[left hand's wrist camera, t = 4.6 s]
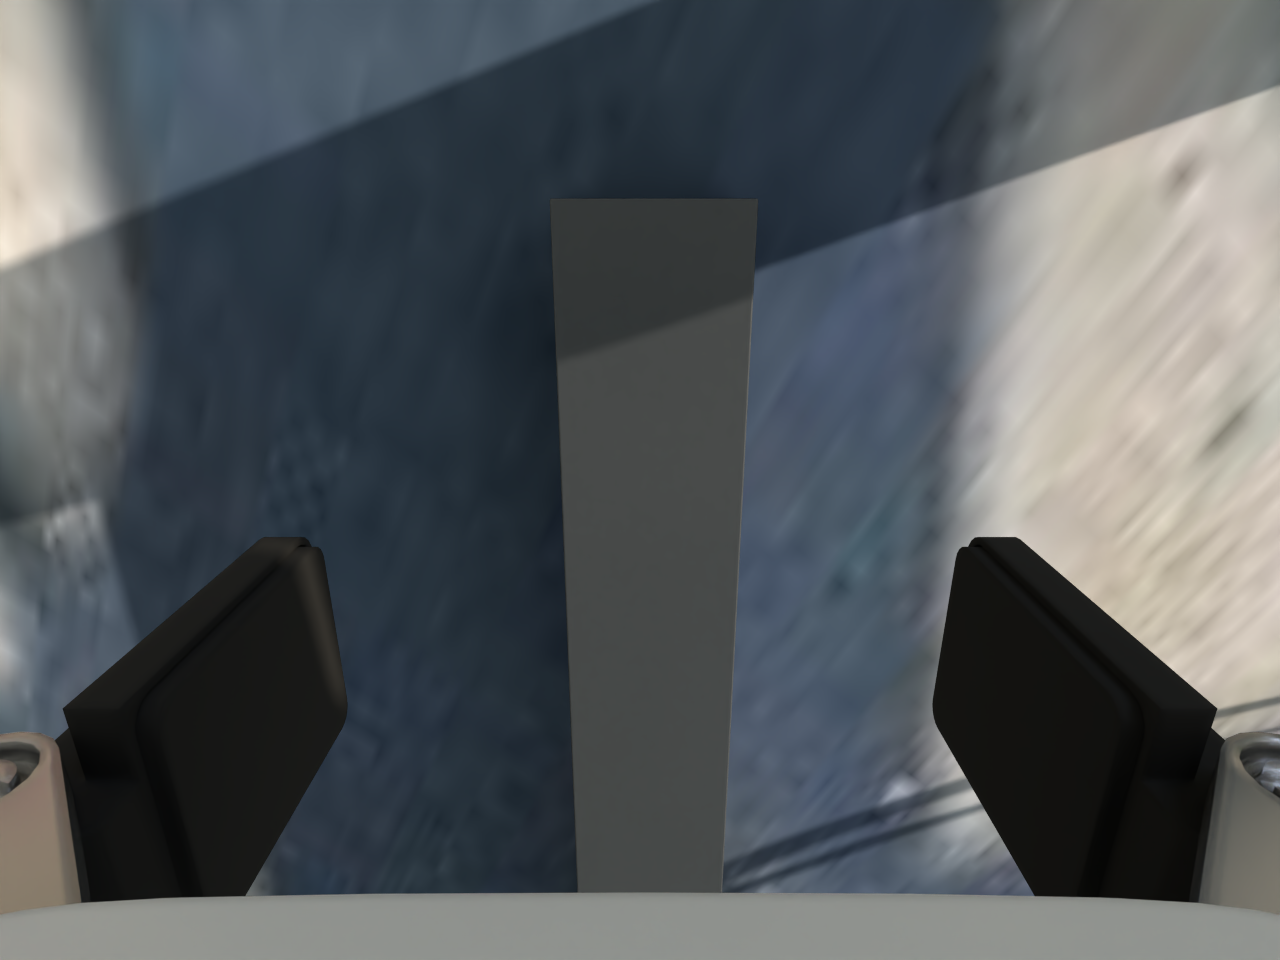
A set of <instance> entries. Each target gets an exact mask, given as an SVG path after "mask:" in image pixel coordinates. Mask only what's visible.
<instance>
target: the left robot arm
mask: <svg viewBox="0 0 1280 960" xmlns="http://www.w3.org/2000/svg"><path fill="white" fill-rule="evenodd" d="M63 711H64V714H65V717H66V720H67V724H68V727H69V728H68V729H67V730H66V731H65V732H64V733H63V734H61V735H60V736H59V737H58V738H57V739H56V740H54V739H53V738H51V737H49V736H46V735H44V734H41V733H32V732H16V733H8V734H1V735H0V960H1280V735H1279V734H1272V733H1264V732H1248V733H1239V734H1236V735H1234V736H1231V737H1229V738H1227V739H1226V740H1224V739H1223V738H1222V737H1221V736H1220V735H1219V734H1217V733H1216V732H1215V731H1214V730H1213V729H1212V728H1211V727H1212V724H1213V720H1214V717H1215V714H1216V711H1217V708H1216V707H1215V706H1214V705H1213V704H1211V703H1210V702H1209V701H1208V700H1207V699H1206V698H1204V697H1203V696H1202V695H1201V694H1200V693H1199V692H1197V691H1196V690H1195V689H1194V688H1193V687H1192V686H1190V685H1189V684H1188V683H1187V682H1186V681H1185V680H1183V679H1182V678H1181V677H1180V676H1179V675H1178V674H1176V673H1175V672H1174V671H1173V670H1172V669H1171V668H1169V667H1168V666H1167V665H1166V664H1165V663H1164V662H1162V661H1161V660H1160V659H1159V658H1158V657H1157V656H1155V655H1154V654H1153V653H1152V652H1151V651H1150V650H1148V649H1147V648H1146V647H1145V646H1144V645H1143V644H1141V643H1140V642H1139V641H1138V640H1137V639H1136V638H1134V637H1133V636H1132V635H1131V634H1130V633H1129V632H1127V631H1126V630H1125V629H1124V628H1123V627H1122V626H1120V625H1119V624H1118V623H1117V622H1116V621H1115V620H1113V619H1112V618H1111V617H1110V616H1109V615H1108V614H1106V613H1105V612H1104V611H1103V610H1102V609H1101V608H1099V607H1098V606H1097V605H1096V604H1095V603H1094V602H1092V601H1091V600H1090V599H1089V598H1088V597H1087V596H1085V595H1084V594H1083V593H1082V592H1081V591H1080V590H1078V589H1077V588H1076V587H1075V586H1074V585H1073V584H1072V583H1070V582H1069V581H1068V580H1067V579H1066V578H1065V577H1063V576H1062V575H1061V574H1060V573H1059V572H1058V571H1056V570H1055V569H1054V568H1053V567H1052V566H1051V565H1049V564H1048V563H1047V562H1046V561H1045V560H1044V559H1042V558H1041V557H1040V556H1039V555H1038V554H1037V553H1035V552H1034V551H1033V550H1032V549H1031V548H1030V547H1028V546H1027V545H1026V544H1025V543H1024V542H1023V541H1021V540H1020V539H1018V538H1016V537H976V538H974V539H973V540H972V541H971V542H970V544H969V546H968V547H962V548H960V549H959V551H958V553H957V556H956V561H955V567H954V573H953V579H952V585H951V591H950V598H949V604H948V610H947V616H946V622H945V628H944V634H943V641H942V647H941V653H940V659H939V665H938V671H937V677H936V683H935V690H934V696H933V715H934V720H935V723H936V725H937V728H938V729H939V731H940V733H941V735H942V736H943V738H944V740H945V741H946V743H947V745H948V747H949V748H950V750H951V752H952V754H953V755H954V757H955V759H956V761H957V762H958V764H959V766H960V767H961V769H962V771H963V773H964V774H965V776H966V778H967V780H968V781H969V783H970V785H971V786H972V788H973V790H974V792H975V793H976V795H977V797H978V799H979V800H980V802H981V804H982V805H983V807H984V809H985V811H986V812H987V814H988V816H989V818H990V819H991V821H992V823H993V824H994V826H995V828H996V830H997V831H998V833H999V835H1000V837H1001V838H1002V840H1003V842H1004V844H1005V845H1006V847H1007V849H1008V850H1009V852H1010V854H1011V856H1012V857H1013V859H1014V861H1015V863H1016V864H1017V866H1018V868H1019V869H1020V871H1021V873H1022V875H1023V876H1024V878H1025V880H1026V882H1027V883H1028V885H1029V887H1030V888H1031V890H1032V892H1033V894H1034V895H1035V896H993V895H942V894H840V893H439V894H338V895H287V896H245V895H246V894H247V892H248V890H249V888H250V887H251V885H252V883H253V882H254V880H255V878H256V876H257V875H258V873H259V871H260V869H261V868H262V866H263V864H264V863H265V861H266V859H267V857H268V856H269V854H270V852H271V850H272V849H273V847H274V845H275V844H276V842H277V840H278V838H279V837H280V835H281V833H282V831H283V830H284V828H285V826H286V824H287V823H288V821H289V819H290V818H291V816H292V814H293V812H294V811H295V809H296V807H297V805H298V804H299V802H300V800H301V799H302V797H303V795H304V793H305V792H306V790H307V788H308V786H309V785H310V783H311V781H312V780H313V778H314V776H315V774H316V773H317V771H318V769H319V767H320V766H321V764H322V762H323V761H324V759H325V757H326V755H327V754H328V752H329V750H330V748H331V747H332V745H333V743H334V741H335V740H336V738H337V736H338V735H339V733H340V731H341V729H342V728H343V725H344V723H345V720H346V715H347V696H346V690H345V683H344V677H343V671H342V665H341V659H340V653H339V647H338V641H337V634H336V628H335V622H334V616H333V610H332V604H331V598H330V592H329V585H328V579H327V573H326V567H325V561H324V556H323V553H322V551H321V549H320V548H318V547H312V546H311V544H310V542H309V541H308V540H307V539H306V538H304V537H264V538H262V539H260V540H259V541H257V542H256V543H255V544H254V545H253V546H252V547H250V548H249V549H248V550H247V551H246V552H245V553H243V554H242V555H241V556H240V557H239V558H238V559H236V560H235V561H234V562H233V563H232V564H231V565H229V566H228V567H227V568H226V569H225V570H224V571H222V572H221V573H220V574H219V575H218V576H217V577H215V578H214V579H213V580H212V581H211V582H210V583H208V584H207V585H206V586H205V587H204V588H203V589H202V590H200V591H199V592H198V593H197V594H196V595H195V596H193V597H192V598H191V599H190V600H189V601H188V602H186V603H185V604H184V605H183V606H182V607H181V608H179V609H178V610H177V611H176V612H175V613H174V614H172V615H171V616H170V617H169V618H168V619H167V620H165V621H164V622H163V623H162V624H161V625H160V626H158V627H157V628H156V629H155V630H154V631H153V632H151V633H150V634H149V635H148V636H147V637H146V638H144V639H143V640H142V641H141V642H140V643H139V644H137V645H136V646H135V647H134V648H133V649H132V650H130V651H129V652H128V653H127V654H126V655H125V656H123V657H122V658H121V659H120V660H119V661H118V662H116V663H115V664H114V665H113V666H112V667H111V668H109V669H108V670H107V671H106V672H105V673H104V674H102V675H101V676H100V677H99V678H98V679H97V680H95V681H94V682H93V683H92V684H91V685H90V686H88V687H87V688H86V689H85V690H84V691H83V692H81V693H80V694H79V695H78V696H77V697H76V698H74V699H73V700H72V701H71V702H70V703H69V704H67V705H66V706H65V707H64V708H63Z"/></svg>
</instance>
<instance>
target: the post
mask: <svg viewBox="0 0 1280 960" xmlns="http://www.w3.org/2000/svg"><path fill="white" fill-rule="evenodd" d="M757 213H758V199H756V198H719V199H550V218H551V243H552V268H553V293H554V318H555V343H556V368H557V393H558V418H559V443H560V468H561V493H562V518H563V543H564V568H565V593H566V618H567V643H568V668H569V693H570V718H571V743H572V768H573V793H574V818H575V843H576V868H577V893H722V881H723V862H724V843H725V824H726V805H727V786H728V767H729V748H730V728H731V709H732V690H733V671H734V652H735V633H736V614H737V595H738V576H739V556H740V537H741V518H742V499H743V480H744V461H745V442H746V423H747V404H748V385H749V365H750V346H751V327H752V308H753V289H754V270H755V251H756V232H757Z"/></svg>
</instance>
